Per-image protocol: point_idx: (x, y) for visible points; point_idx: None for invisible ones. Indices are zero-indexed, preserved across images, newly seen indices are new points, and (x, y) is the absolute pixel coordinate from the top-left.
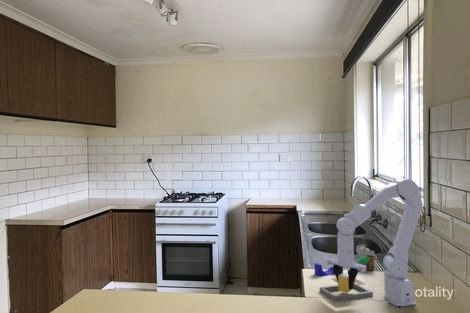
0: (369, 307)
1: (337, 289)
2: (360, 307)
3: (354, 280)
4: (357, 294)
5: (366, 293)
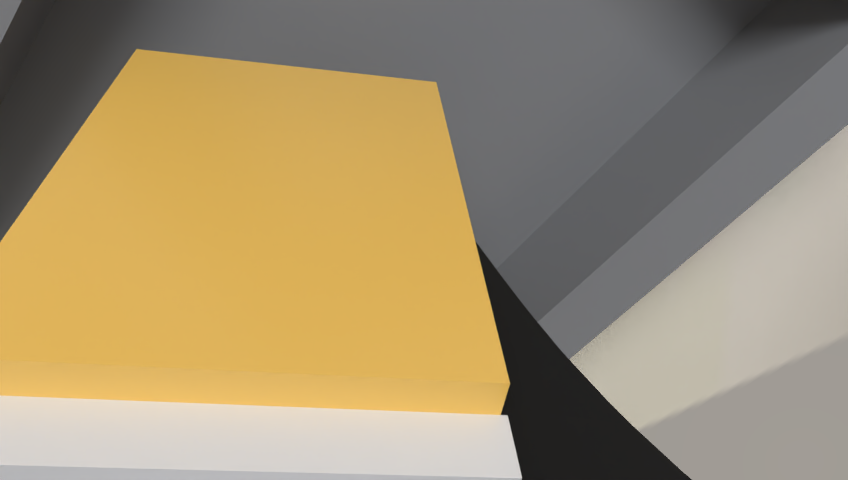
0: (749, 353)
1: (3, 83)
2: (620, 412)
3: (569, 385)
4: (591, 332)
5: (793, 159)
